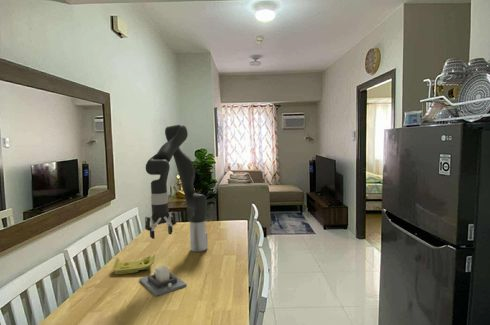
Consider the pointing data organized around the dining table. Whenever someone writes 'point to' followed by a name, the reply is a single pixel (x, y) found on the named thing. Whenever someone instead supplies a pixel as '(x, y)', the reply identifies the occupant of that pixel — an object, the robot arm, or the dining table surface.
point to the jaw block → (162, 273)
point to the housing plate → (162, 284)
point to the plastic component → (133, 265)
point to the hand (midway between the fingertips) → (161, 236)
